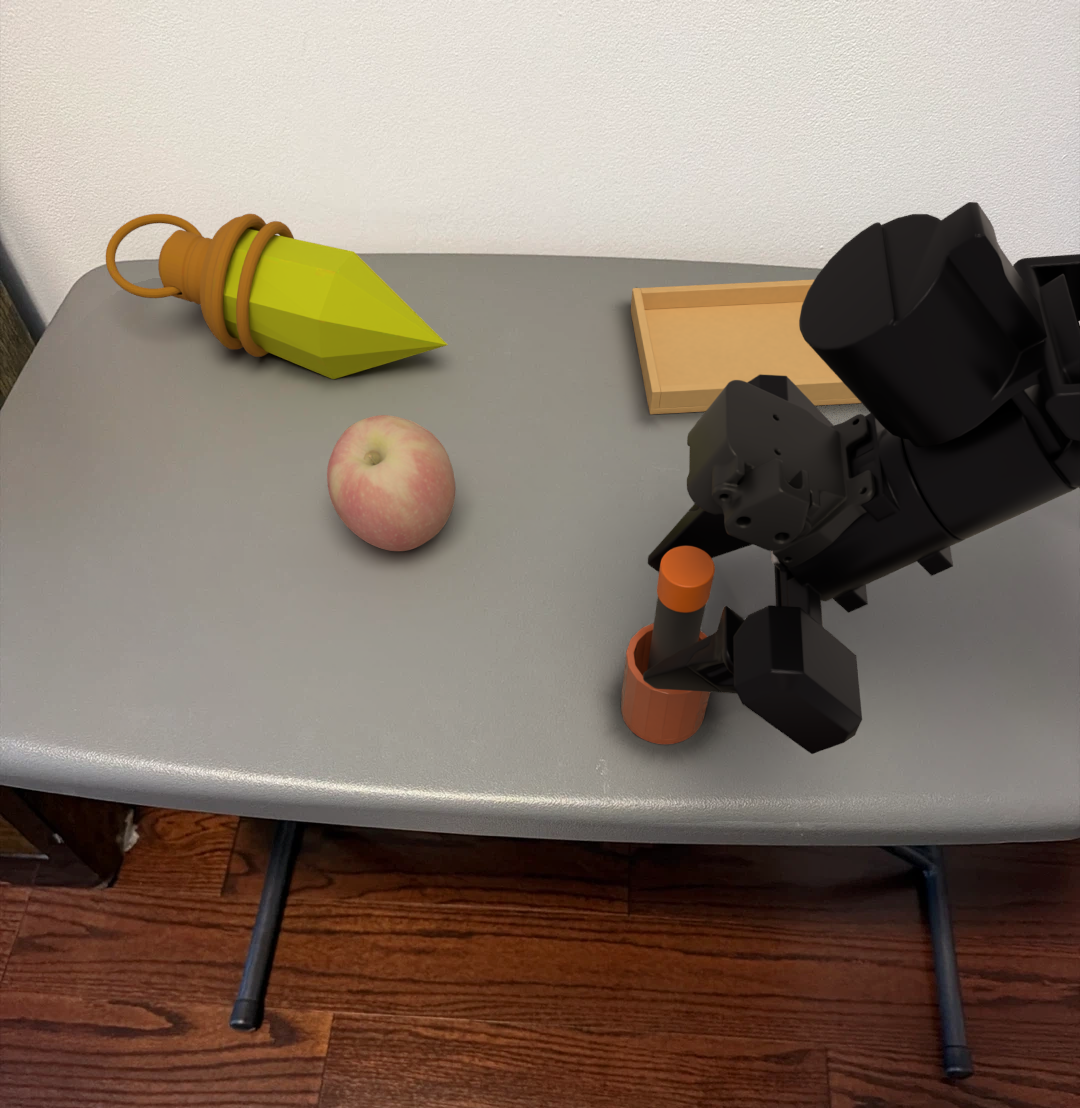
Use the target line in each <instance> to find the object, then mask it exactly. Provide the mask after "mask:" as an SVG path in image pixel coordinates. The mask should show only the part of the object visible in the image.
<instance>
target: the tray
mask: <svg viewBox="0 0 1080 1108" xmlns="http://www.w3.org/2000/svg"><path fill="white" fill-rule="evenodd" d="M814 280H815V279H797V280H796V279H795V280H777V281H756V282H754V281H753V282H736V283H735V282H733V283H716V284H696V285H695V284H693V285H692V284H691V285H675V286H673V285H672V286H656V287H655V286H654V287H632V290H631V300H630V302H631V303H630V315H631V320H632V326H633V331H634V336H635V342H636V347H637V353H638V358H639V359H638V360H639V364H640V368H641V374H642V380H643V385H644V391H645V396H646V401H647V408H648V411H649V415H667V414H682V413H685V414H686V413H698V412H699V413H700V412H703V413H705V412H706V411H707V409H708V408H709V407H710V406H711V404H712V403H713V402H714V401H715V399H716V398H717V397H718V396H719V394H720V393H721V392H722V391H723V389H724V388H725V387H726V385H727V384H728V383H729V382H731V381H732V380H741V381H745V382H749V381H750V380H752V379H753V378H755V377H757V376H758V375H760V374H762V375H780V376H787V377H788V378H789V379H790V380H791V381H792V382H793V383H794V384H795V385H796V386H797V387H798V388H799V389H800V391H801V392H802V393H803V394H804V395H805V396H806V397H807V398H808V399H809V400H810V401H811V402H812V403H813V404H814V405H815V406H816V407H817V406H831V405H834V406H835V405H852V404H854V405H855V404H862V403H861V402H860V401H859V399H858V398H857V397H856V396H855V395H854V394H853V393H852V392H851V391H850V390H849V388H848V387H847V386H846V385H845V384H844V383H843V382H842V381H841V380H840V379H839V377H838V376H837V375H836V374H835V373H834V372H833V371H832V370H831V369H830V368H829V366H828V365H827V364H826V363H825V362H824V361H823V360H822V359H821V358H820V356H819V355H818V354H817V353H816V352H815V351H814V350H813V349H812V348H811V347H810V345H809V344H808V343H807V342H806V341H805V340H804V338H803V336H802V333H801V331H800V327H799V319H800V313H801V308H802V305H803V302H804V300H805V297H806V295H807V292H808V290H809V289H810V287H811V285H812V284H813V282H814Z"/></svg>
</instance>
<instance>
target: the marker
mask: <svg viewBox="0 0 1080 1108" xmlns="http://www.w3.org/2000/svg"><path fill="white" fill-rule="evenodd" d="M715 572H716V566H715V562H714V560H713V558H711V557H710V556H709V554H707V553H706V552H705V551H703V550H701V549H699V548H697V547H693V546H679V547H676V548H673V549H671V550H669V551H668V552H667V553H666V554H665V555H664V556H663V558H662V560H661V563H660V570H659V572H658V578H657V585H656V593H657V598H656V599H657V600H656V606H655V613H654V618H653V619H654V620H653V623H654V626H653V633H652V640H651V647H650V654H649V661H648V668H647V670H648V669H650V668H651V667H653V666H654V665H656V664H657V663H658V662H660V661H662V660H663V659H665V658H667V657H669V656H671V655H673V654H675V653H677V652H679V651H681V650H683V649H685V648H687V647H689V646H690V645H692V644H694V643H696V642H698V640H699V635H700V631H702V624H703V620H704V615H705V610H706V605H707V603H708V602H709V599H710V596H711V592H712V587H713V582H714V578H715V577H714V576H715Z"/></svg>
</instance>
